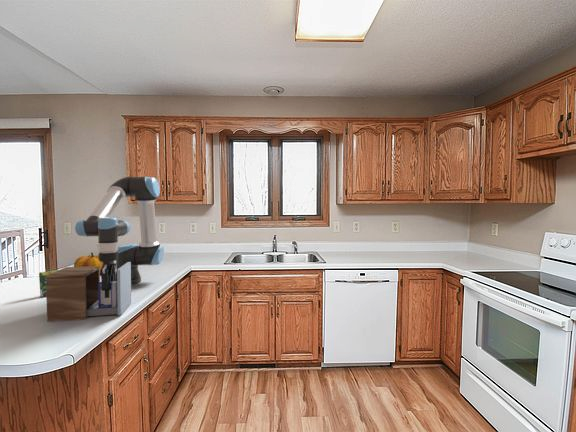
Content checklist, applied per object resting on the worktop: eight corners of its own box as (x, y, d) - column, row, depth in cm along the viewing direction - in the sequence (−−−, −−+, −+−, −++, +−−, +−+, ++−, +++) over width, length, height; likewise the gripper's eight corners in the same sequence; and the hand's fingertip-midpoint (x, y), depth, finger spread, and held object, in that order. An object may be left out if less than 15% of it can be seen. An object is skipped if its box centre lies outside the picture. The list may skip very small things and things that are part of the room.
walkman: (98, 308, 135) (98, 282, 135) (101, 306, 138) (101, 280, 138) (116, 308, 136) (116, 281, 135) (119, 306, 138) (119, 280, 138)
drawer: (99, 304, 144) (99, 263, 143) (131, 302, 147) (130, 261, 146) (85, 317, 127) (84, 271, 126) (120, 315, 130) (120, 269, 129)
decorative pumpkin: (65, 277, 196) (65, 254, 196) (96, 269, 217) (96, 249, 217) (88, 279, 190) (87, 256, 189) (118, 272, 211) (117, 251, 210)
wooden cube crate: (66, 307, 140) (65, 267, 139) (100, 305, 144) (99, 266, 143) (47, 321, 124) (45, 276, 123) (85, 318, 127) (84, 274, 126)
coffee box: (42, 298, 154) (41, 272, 153) (39, 297, 155) (38, 272, 155) (60, 294, 161) (59, 269, 160) (57, 293, 162) (56, 269, 162)
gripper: (105, 249, 143) (106, 298, 144) (91, 255, 127) (93, 309, 128) (122, 248, 144) (123, 296, 146) (111, 254, 129) (112, 308, 130)
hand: (109, 302), depth 137 cm, fingers closed on walkman, 3 cm apart
